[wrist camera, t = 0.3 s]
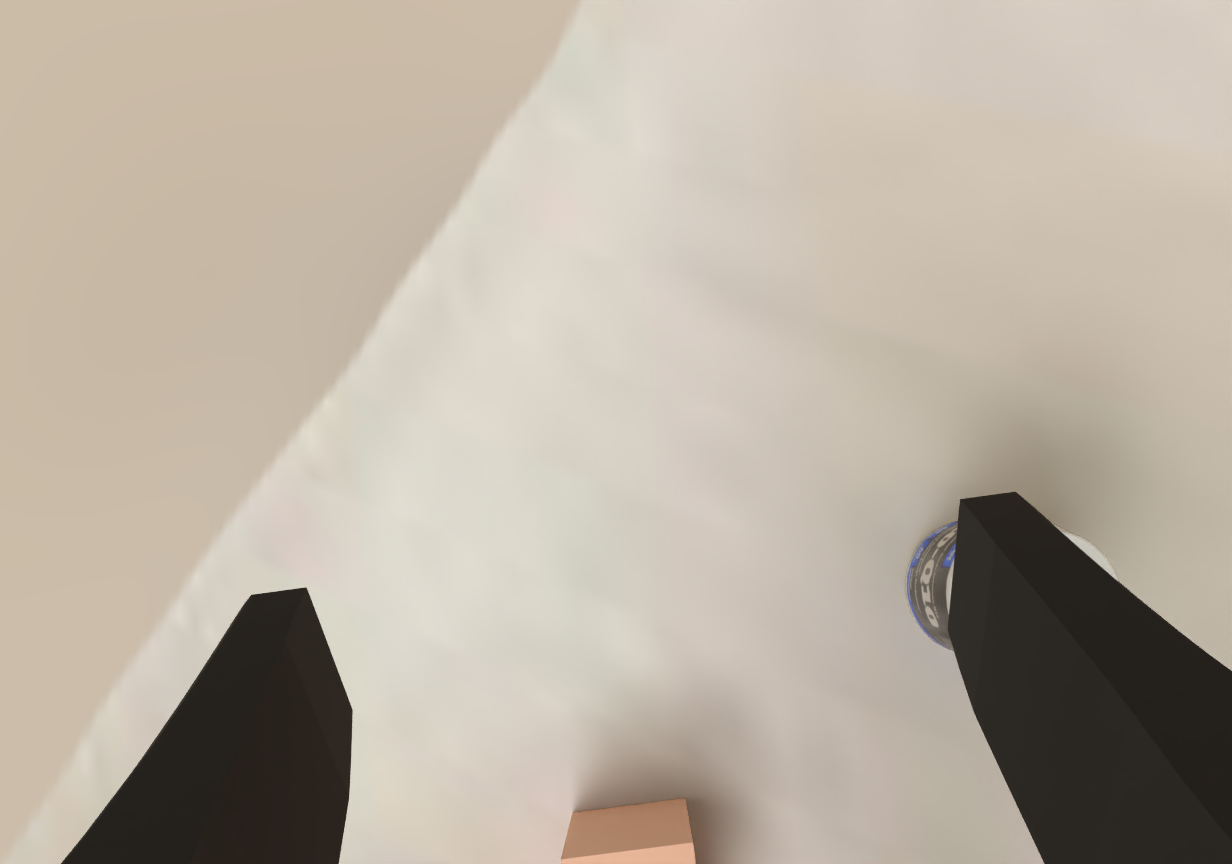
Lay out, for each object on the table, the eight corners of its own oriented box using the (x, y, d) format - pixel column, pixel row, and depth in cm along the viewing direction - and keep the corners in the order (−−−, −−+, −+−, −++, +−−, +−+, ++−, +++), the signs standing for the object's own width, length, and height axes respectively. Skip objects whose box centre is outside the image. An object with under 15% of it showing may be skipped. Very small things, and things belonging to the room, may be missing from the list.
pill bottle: (923, 503, 41) (995, 493, 33) (1050, 543, 41) (1156, 543, 32) (886, 631, 41) (949, 654, 32) (1015, 671, 40) (1112, 705, 32)
